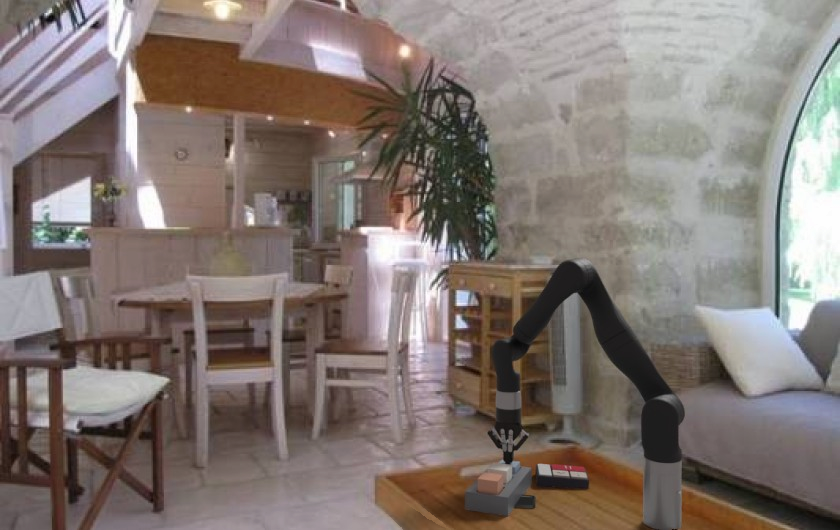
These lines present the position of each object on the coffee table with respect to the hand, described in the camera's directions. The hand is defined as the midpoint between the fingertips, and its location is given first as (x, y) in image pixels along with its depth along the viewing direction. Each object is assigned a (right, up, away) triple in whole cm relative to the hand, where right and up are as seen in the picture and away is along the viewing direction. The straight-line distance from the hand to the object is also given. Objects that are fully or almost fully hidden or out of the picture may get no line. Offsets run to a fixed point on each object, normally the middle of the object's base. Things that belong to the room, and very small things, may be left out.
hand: (508, 463), depth 210 cm
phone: (-2, -8, -12) cm, 15 cm away
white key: (-3, -3, -8) cm, 9 cm away
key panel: (-3, -7, -8) cm, 11 cm away
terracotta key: (-7, -3, -17) cm, 18 cm away
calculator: (+17, -7, +4) cm, 19 cm away
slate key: (0, -4, 0) cm, 4 cm away
